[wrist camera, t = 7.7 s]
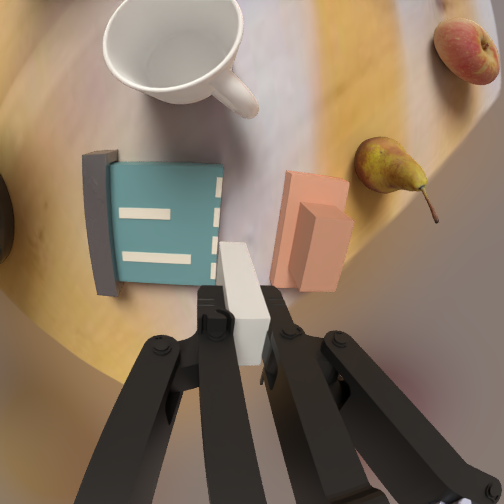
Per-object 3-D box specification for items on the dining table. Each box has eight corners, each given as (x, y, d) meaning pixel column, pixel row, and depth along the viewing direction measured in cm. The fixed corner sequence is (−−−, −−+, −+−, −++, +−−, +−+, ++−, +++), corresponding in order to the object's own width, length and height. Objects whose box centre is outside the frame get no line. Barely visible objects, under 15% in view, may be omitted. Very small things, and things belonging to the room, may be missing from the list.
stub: (269, 277, 31) (281, 313, 25) (286, 170, 26) (307, 184, 20) (318, 278, 32) (339, 311, 26) (341, 178, 27) (372, 194, 21)
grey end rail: (106, 279, 28) (97, 295, 25) (96, 150, 22) (82, 155, 19) (125, 280, 28) (117, 296, 26) (117, 149, 22) (105, 153, 19)
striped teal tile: (102, 269, 27) (96, 279, 26) (93, 162, 22) (84, 166, 20) (214, 276, 30) (214, 286, 28) (222, 164, 25) (223, 167, 23)
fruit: (396, 162, 26) (475, 191, 16) (364, 194, 28) (436, 239, 17) (371, 123, 24) (453, 134, 13) (335, 157, 25) (408, 185, 15)
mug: (278, 91, 22) (317, 73, 13) (213, 149, 24) (212, 165, 15) (190, 13, 17) (179, -41, 8) (125, 71, 19) (77, 46, 10)
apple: (457, 95, 23) (502, 99, 16) (415, 49, 20) (462, 41, 13) (469, 55, 20) (510, 54, 13) (430, 10, 17) (471, 0, 10)
